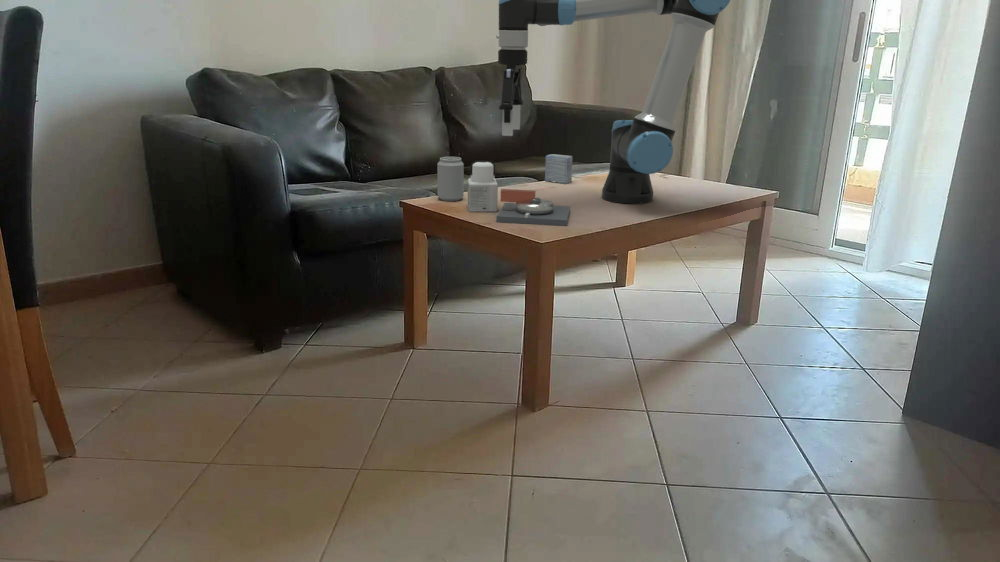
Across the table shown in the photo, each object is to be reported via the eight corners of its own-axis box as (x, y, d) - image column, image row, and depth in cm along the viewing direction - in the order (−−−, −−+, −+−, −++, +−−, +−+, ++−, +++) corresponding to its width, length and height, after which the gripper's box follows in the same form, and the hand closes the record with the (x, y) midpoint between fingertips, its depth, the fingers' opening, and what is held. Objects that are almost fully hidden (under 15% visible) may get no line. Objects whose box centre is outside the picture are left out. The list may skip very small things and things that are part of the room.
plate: (569, 211, 198) (570, 203, 197) (566, 225, 183) (567, 217, 182) (504, 208, 200) (504, 199, 199) (496, 221, 185) (496, 213, 184)
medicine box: (571, 182, 238) (573, 156, 235) (565, 184, 234) (567, 157, 231) (550, 179, 241) (551, 153, 239) (544, 181, 238) (545, 155, 235)
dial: (554, 206, 195) (555, 188, 193) (552, 215, 185) (552, 196, 184) (503, 204, 196) (503, 185, 195) (498, 212, 187) (498, 193, 185)
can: (459, 202, 205) (460, 160, 201) (434, 200, 207) (434, 159, 203) (466, 197, 212) (466, 156, 208) (441, 195, 214) (441, 155, 210)
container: (467, 205, 202) (467, 159, 198) (495, 205, 203) (496, 159, 199) (468, 211, 195) (469, 163, 191) (497, 212, 195) (498, 164, 191)
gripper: (506, 47, 197) (504, 126, 204) (489, 49, 174) (489, 138, 181) (533, 48, 196) (531, 127, 203) (520, 49, 173) (518, 139, 180)
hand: (511, 132), depth 192 cm, fingers open, 13 cm apart
